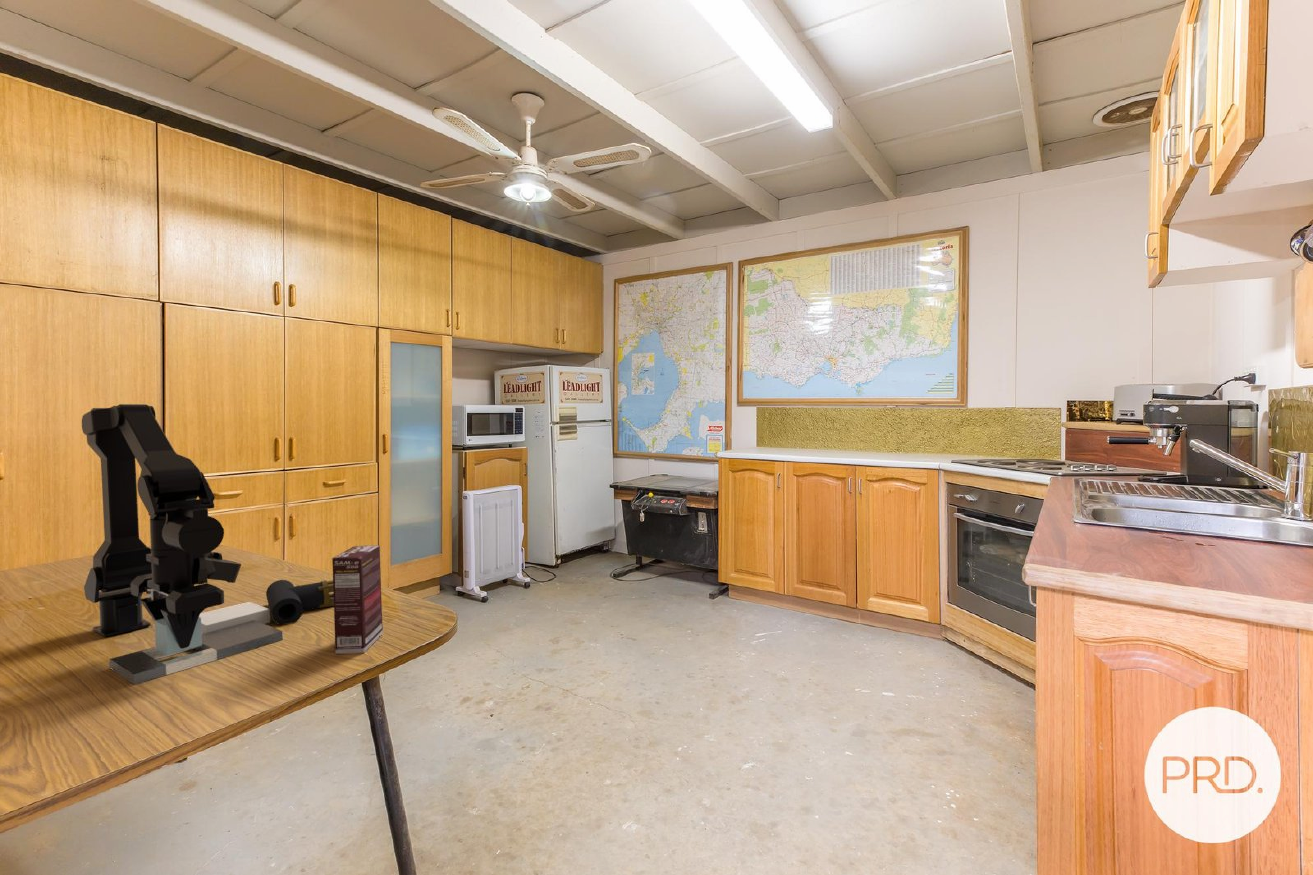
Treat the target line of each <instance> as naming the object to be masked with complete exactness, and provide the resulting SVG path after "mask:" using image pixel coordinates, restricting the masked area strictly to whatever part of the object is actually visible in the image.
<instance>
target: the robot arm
mask: <svg viewBox="0 0 1313 875" xmlns="http://www.w3.org/2000/svg"><path fill="white" fill-rule="evenodd" d="M156 417H157V416H156V410H155V408H154V406H153V405H148V404H145V403H144V404H143V403H142V404H141V403H140V404H135V403H134V404H132V403H131V404H130V403H129V404H128V403H127V404H126V403H119V404H118V405H113V406H111V407H93V408H91V410H90V411H87V412H86V413H84V414H83V415H82V417H81V429H82V430H81V431H82V433H83V435H84V436H85V437H86V443H87V446H89V448H91V450H92V451H93V452H94V453H95V454H96V455H97V456H98V458H100V459H99V460H100V469H101V471H100V472H101V475H100V476H101V492H102V493H101V494H102V495H101V496H102V512H103V513H102V514H103V515H102V516H103V530H104V531H103V532H104V533H103V534H104V541H103V542H102V544H101V545H100V546H99V547H98V549H97V550H96V552H95V554H93V558H92V567H91V568H90V570H89V572H88V575H87V578H86V580H85V583H84V586H83V590H84V596H85V599H86V600H88V601H89V602H91V603H93V604H95V603H96V604H97V603H99V623H100V624H99V625H96V626H93V627H92V630H93V632H95V633H97V634H99V635H100V636H102V637H104V638H105V637H110V636H115V635H119V634H124V633H127V632H132V631H135V630H140V629H144V628H148V627H150V626H151V624H152V623H151V622H149V621H148V620H145V619H143V618H144V617H143V607H144V608H145V610H146V611H147V612H148V614H149V616H150V617H151V619H152V620H153V621H154V623H155V620H160V619H164V618H165V620H166V622H167V624H168V626H169V628H170V630H171V632H172V634H173V636H174V638H175V640H176V642H177V643H178V645H179V647H180V648H186V647H189V645H190V642H191V639H192V636H193V633H194V629H195V626H196V623H197V620H198V618H199V615H200V613H203V611H205V610H206V609H207V608H212V607H216V606H220V605H223V604H224V603H225V591H224V590H223V589H221V588H220V587H218V586H216V585H213V584H211V583H208V582H209V581H208V580H211V581H213V580H215V581H222V582H223V581H224V582H227V583H228V584H229V583H231V584H234V583H236V581H237V578H238V575H239V571H240V570H241V566H242V563H240V562H237V561H232V560H228V559H223V555H222V553H220V552H218V551H214V550H216V549H217V548H218V547H219V546H220V545H221V543H222V542H223V540H224V535H225V529H224V527H223V525H222V523H221V522H220V521H219V520H218V519H217V518H216V517H213V516H209V509H214V508H215V503H214V500H215V498H216V497H215V494H214V493H213V491H212V489H211V487H210V485H209V483H208V481H207V479H206V477H205V474H204V473H203V472H202V471H201V470H200V469H199V468H198V466H197V465H196V464H195V463H194V462H193V460H192V459H190V458H189V457H185V456H184V455H181V454H178V453H177V452H176V451H175V448H174V447H173V446H172V443H170V441H169V439H168V437H167V435H166V434H165V432H164V430H163V429H162V427H161V425H160V424H159V422H158V420H157V419H156ZM136 461H137V462H136ZM136 463H138V465H139V467H140V474H139V476H138V479H137V470H136V469H137V466H136V465H137V464H136ZM138 496H139V498H140V500H141V501H142V504H143V506H144V508H145V509H146V511H147V512H148V513H147V514H148V516H149V533H150V534H149V536H150V547H148V546H147V545H146V544H145V543H144V542H143V540H142V539H141V538H140V532H139V530H140V529H139V527H140V526H139V525H140V524H139V509H138V508H139V507H138V506H139V504H138ZM144 593H146V594H145V595H146V597H145V598H143V597H142V596H143V594H144Z"/></svg>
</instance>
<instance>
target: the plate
mask: <svg viewBox="0 0 1313 875" xmlns="http://www.w3.org/2000/svg"><path fill="white" fill-rule="evenodd" d="M283 638H284V636H283V630H280V629H278V628H276V627H273V626H272V625H271V626H270V625H268V624H267V623H266V624H263V623H260V622H258V621H255V620H253V621H249V622H246V623H242V624H238V625H235V626H231V627H227V628H223V629H220V630H216V631H212V632H208V633H205V634H202V646H199V647H195V648H191V649H188V650H184V651H181V652H177V653H174V654H170V655H166V654H164V653H162V652H160V651H159V650H157V649H156V646H152V647H149V648H145V649H141V650H138V651H134V652H131V653H126V654H122V655H120V656H116V657H112V658H109V669H110V668H112V669H113V670H114V671H115V672H114V671H113V670H112V671H113V672H114V673H116V674H117V673H118V675H119V676H120V677H122V678H123V679H125V680H127V681H128V682H130V683H131V684H133V685H138V684H142V683H145V682H149V681H151V679H152V680H154V678H155V679H158V678H161V677H164V676H168V675H171V674H175V673H178V672H181V671H184V670H188V669H190V668H194V667H198V666H201V665H204V664H207V663H210V662H214V661H218V660H220V659H223V658H227V657H231V656H235V655H237V654H240V653H244V652H247V651H250V650H253V649H257V648H260V647H263V646H267V645H270V644H273V643H278V642H280V641H282V640H284V639H283ZM193 649H194V650H196V652H193V653H189V654H186V655H183V656H178V657H175V658H173V659H172V658H171V659H169V660H165V661H159V659H162V658H165V657H169V656H173V655H176V654H177V655H178V654H181V653H184V652H187V651H191V650H193ZM197 650H198V651H197ZM141 682H142V683H141Z"/></svg>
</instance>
